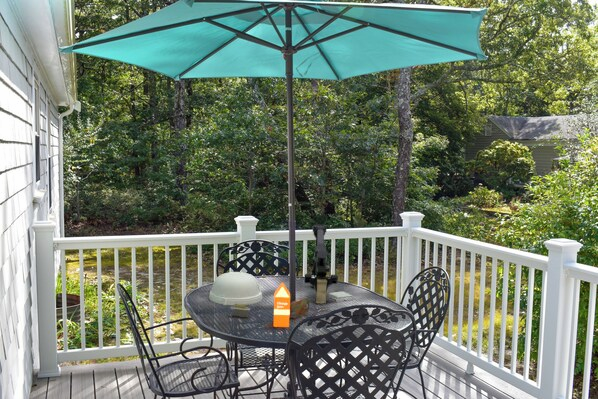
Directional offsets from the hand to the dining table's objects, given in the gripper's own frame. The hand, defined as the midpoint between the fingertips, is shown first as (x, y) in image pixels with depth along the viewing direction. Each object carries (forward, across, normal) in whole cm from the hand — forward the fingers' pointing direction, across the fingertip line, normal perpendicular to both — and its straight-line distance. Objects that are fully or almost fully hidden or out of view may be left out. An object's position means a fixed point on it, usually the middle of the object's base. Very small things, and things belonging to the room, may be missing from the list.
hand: (321, 291), depth 314 cm
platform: (+25, -42, -14) cm, 51 cm away
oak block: (+4, 0, +6) cm, 7 cm away
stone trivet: (-3, +12, +13) cm, 18 cm away
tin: (+22, -13, -12) cm, 28 cm away
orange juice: (+32, -22, -22) cm, 44 cm away
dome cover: (+1, -48, +10) cm, 49 cm away
